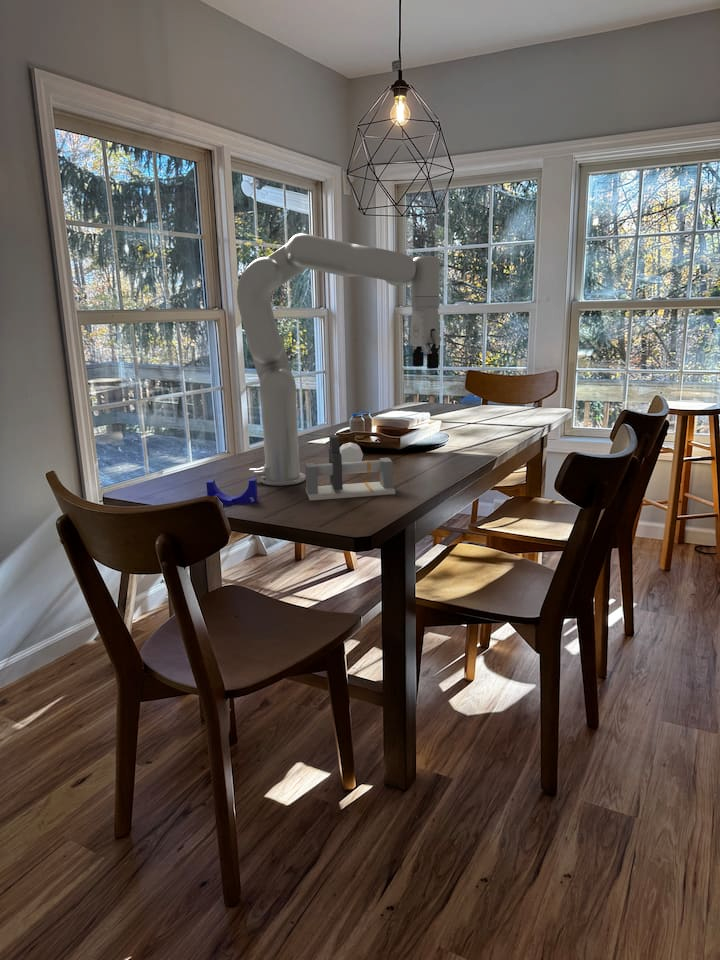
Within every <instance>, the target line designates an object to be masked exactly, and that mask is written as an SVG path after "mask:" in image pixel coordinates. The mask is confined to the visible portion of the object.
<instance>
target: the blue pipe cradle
mask: <svg viewBox="0 0 720 960" xmlns="http://www.w3.org/2000/svg"><path fill="white" fill-rule="evenodd" d="M257 483H258V482H257V477H250V478H249V480H248V486H247V488H246V490H245V491H243V492H242V493H241V494H237V495H230V494H229V495H228V494H226V493H224V492H222V491H221V490H220V488H219V487H218V486H217V484H216V481H215V479H208V480H206V493H207V494H206V495H205V497H206V496H217V497H218V498H219V500H220V501H221V502H222V503H223V505H226V506H225V507H231V506H230V505H238V504H239V505H240V504H241V505H242V504H244V505H246V504H257V503H258V501H259V497H258V496H259V495H258V484H257ZM251 498H253V499H251Z"/></svg>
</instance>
